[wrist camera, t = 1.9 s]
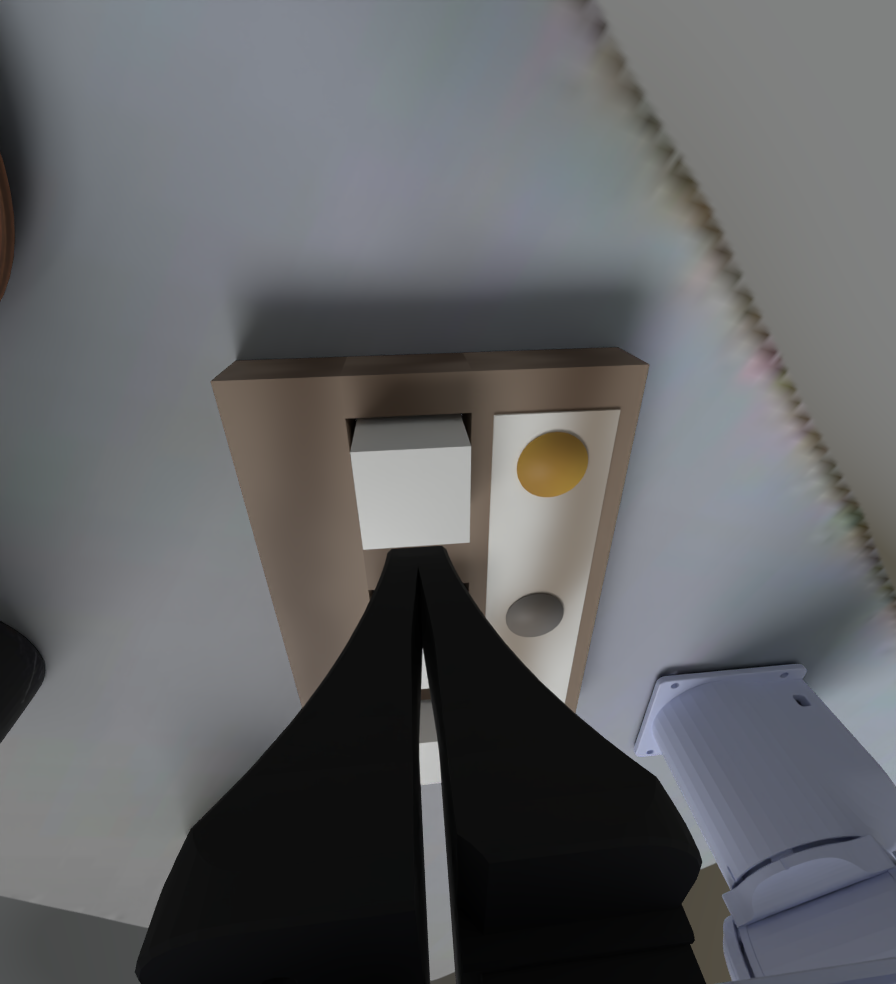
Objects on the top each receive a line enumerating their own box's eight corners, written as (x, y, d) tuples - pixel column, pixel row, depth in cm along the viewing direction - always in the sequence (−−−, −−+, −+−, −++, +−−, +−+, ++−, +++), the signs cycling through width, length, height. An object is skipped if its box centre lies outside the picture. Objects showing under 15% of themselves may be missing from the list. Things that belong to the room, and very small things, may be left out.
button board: (617, 347, 17) (652, 366, 15) (554, 708, 28) (569, 751, 26) (235, 360, 16) (208, 383, 14) (326, 730, 27) (320, 777, 25)
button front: (459, 411, 16) (471, 446, 14) (459, 497, 18) (469, 542, 15) (357, 415, 16) (349, 452, 13) (368, 502, 18) (362, 549, 15)
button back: (459, 683, 24) (466, 738, 21) (459, 724, 26) (465, 780, 23) (390, 689, 24) (389, 746, 21) (395, 730, 25) (394, 787, 23)
